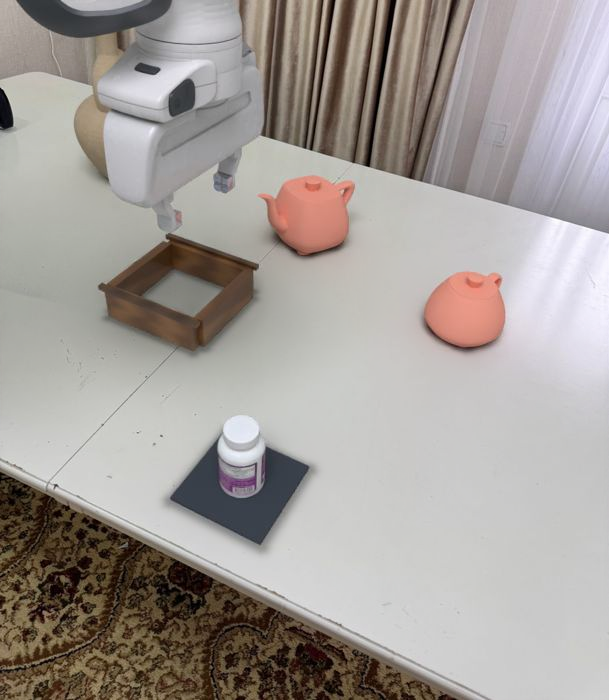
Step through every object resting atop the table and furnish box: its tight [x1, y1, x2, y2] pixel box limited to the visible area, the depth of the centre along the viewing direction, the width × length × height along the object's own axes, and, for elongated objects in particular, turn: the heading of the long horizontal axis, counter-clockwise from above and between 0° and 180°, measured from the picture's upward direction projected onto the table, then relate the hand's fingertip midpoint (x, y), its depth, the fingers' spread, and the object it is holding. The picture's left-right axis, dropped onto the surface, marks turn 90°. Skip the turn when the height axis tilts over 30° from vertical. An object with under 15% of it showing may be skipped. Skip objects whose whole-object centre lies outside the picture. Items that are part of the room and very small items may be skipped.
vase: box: [73, 32, 125, 179], centre depth 119 cm, size 17×17×30 cm
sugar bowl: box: [423, 270, 506, 349], centre depth 95 cm, size 12×14×10 cm
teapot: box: [257, 174, 356, 256], centre depth 111 cm, size 13×20×12 cm, turn 122°
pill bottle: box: [217, 414, 267, 498], centre depth 71 cm, size 5×5×10 cm
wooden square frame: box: [97, 232, 260, 352], centre depth 97 cm, size 17×18×6 cm
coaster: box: [169, 432, 310, 546], centre depth 74 cm, size 12×12×1 cm
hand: (198, 208), depth 63 cm, fingers open, 8 cm apart
